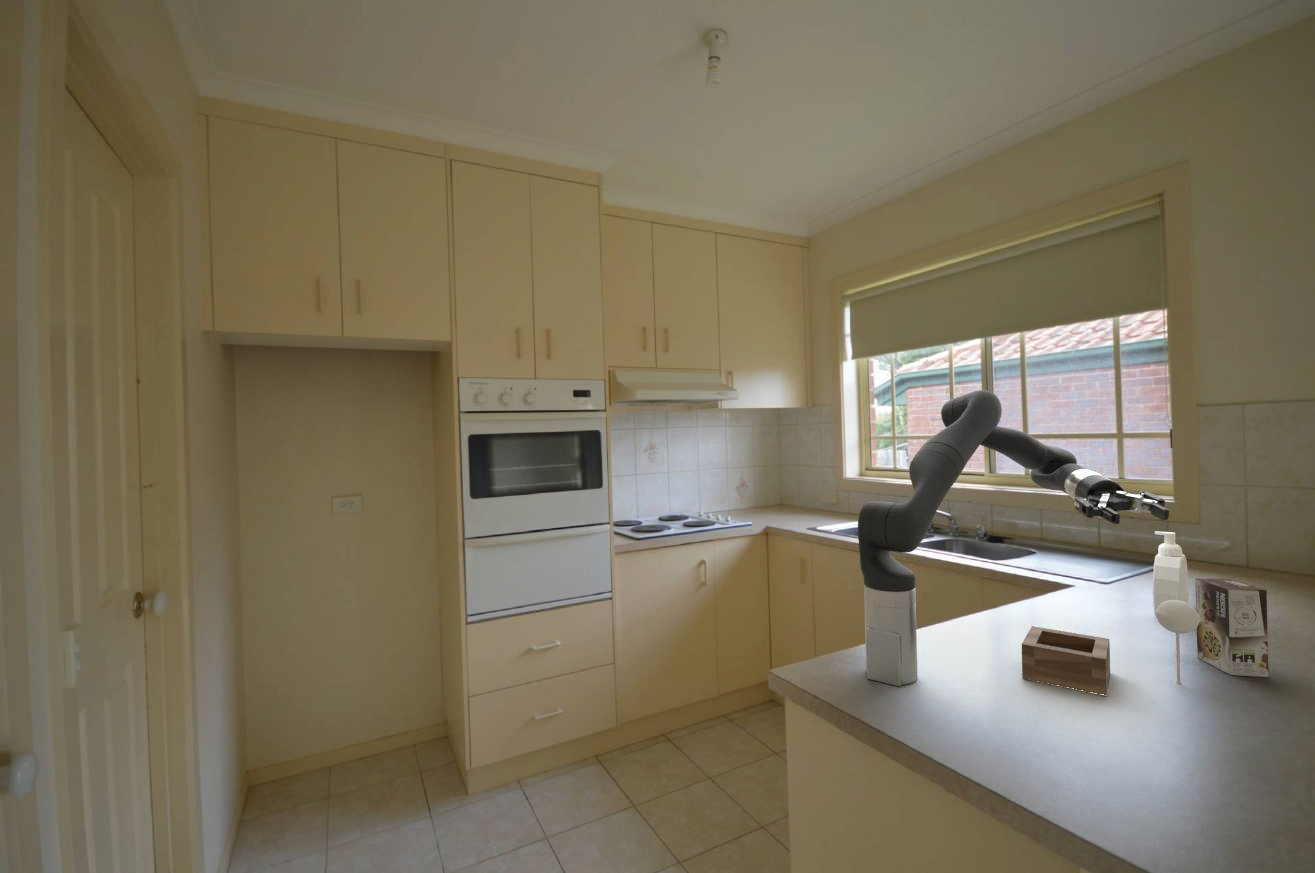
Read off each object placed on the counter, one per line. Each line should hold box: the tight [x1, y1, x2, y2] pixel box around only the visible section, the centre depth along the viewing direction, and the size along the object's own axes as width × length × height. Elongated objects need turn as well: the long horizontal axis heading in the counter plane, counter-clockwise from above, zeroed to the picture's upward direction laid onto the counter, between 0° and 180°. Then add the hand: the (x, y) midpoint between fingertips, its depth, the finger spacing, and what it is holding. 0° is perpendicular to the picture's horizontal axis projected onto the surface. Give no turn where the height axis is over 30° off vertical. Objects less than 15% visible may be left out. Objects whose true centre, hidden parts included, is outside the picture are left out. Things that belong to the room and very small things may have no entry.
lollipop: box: [1154, 600, 1200, 684], centre depth 106 cm, size 6×6×15 cm
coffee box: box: [1194, 578, 1270, 678], centre depth 112 cm, size 9×6×16 cm
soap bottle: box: [1152, 530, 1189, 617], centre depth 145 cm, size 16×5×20 cm, turn 133°
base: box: [1021, 625, 1111, 696], centre depth 110 cm, size 12×12×6 cm
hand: (1142, 517), depth 114 cm, fingers open, 8 cm apart
